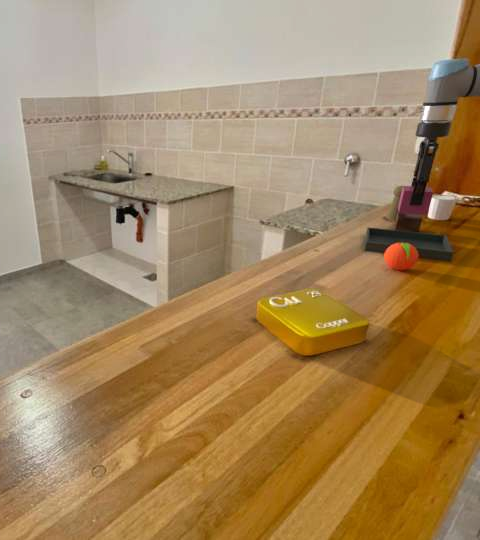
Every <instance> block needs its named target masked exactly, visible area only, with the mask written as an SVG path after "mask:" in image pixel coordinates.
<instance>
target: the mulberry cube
mask: <svg viewBox="0 0 480 540" xmlns="http://www.w3.org/2000/svg"><path fill="white" fill-rule="evenodd" d="M402 186H403V188H402V192H401V196H400V200H399V205H398V212H399V213H403V214H416V215H421V216H428V213H429V207H430V203H431V199H432V196H434V190H433V188H432V187H431V186H426V189H425V192H424V196H423V200H422V204H421V205H410V201H411V197H412V193H413V189H414V186H411V185H402Z"/></svg>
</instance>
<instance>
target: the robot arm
mask: <svg viewBox="0 0 480 540" xmlns="http://www.w3.org/2000/svg"><path fill="white" fill-rule="evenodd" d="M473 97H475V98H476V97H480V63H478V64H475V65H470V63H469V58H453V59H442V60H438V61H436V62H435V63H434V64H433V65H432V67H431V71H430V73H429V77H428V78H427V85H426V90H425V95H424V99H423V103H422V109H419V110H418V114H420V115H419V121H420V122H419V123H417V126H416V130H415V136H416V137H418V138H424V139H423V140H422V141H421V142H420V143H419V146H418V147H419V149H418V154H417V160H416V163H415V167H414V170H413V177H412V182H411V184H410V186H414V189H413V193H412V197H411V201H410V205H421V204H422V200H423V196H424V192H425V189H426V187H427V185H428V183H429V182H430V177H431V173H432V169H433V165H434V160H435V158H436V154H437V150H438V149H439V143H438V141H437V140H438V139H439V138H445V137H448V136H449V135H450V131H451V127H452V122H451V121H453V120H454V117H455V114H456V111H457V107H458V102H459V99H460V98H473Z"/></svg>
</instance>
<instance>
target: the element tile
mask: <svg viewBox="0 0 480 540" xmlns="http://www.w3.org/2000/svg"><path fill="white" fill-rule="evenodd" d="M255 318H256V320H257V322H258V323H260V325H262V326H263V327H264V328H265V329H266V330H268V331H269V332H270V333H271V334H272V335H274V336H275V337H276V338H277V339H278V340H280V341H281V342H282V343H283V344H285V345H286V346H287V347H288V348H290V349H291V350H292V351H293V352H294V353H296V354H298V355H300V356H304V357H310V356H311V357H312V356H317V355H320V354H324V353H327V352H332V351H335V350H338V349H344V348H346V347H350V346H351V347H352V346H354V345H359V344H362V343H364V342H365V341H366V338H367V335H368V331H369V327H370V320H369V318H368V317H367V316H365V315H363V314H361V313H360V312H358V311H356V310H355V309H353V308H352V307H349V306H348V305H346V304H345V303H342V302H341V301H339V300H337V299H335V298H334V297H332V296H330V294H329V295H328V294H327V293H325V292H324V291H321V290H319V289H317V288H305V289H300V290H295V291H290V292H287V293H280V294H276V295H272V296H267V297H263V298H260V299H258V301H257V306H256V316H255Z"/></svg>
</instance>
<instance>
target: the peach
mask: <svg viewBox="0 0 480 540" xmlns="http://www.w3.org/2000/svg"><path fill="white" fill-rule="evenodd" d="M383 255H384V256H383V258H384V262H385V264H386V265H387V266H388V267H389V268H391V269H393V270H395V271H405V270H409V269H411V268H413V267H414V266H415V265H416V264H417V262H418V260H419V257H418V256H419V255H418V251H417V250H416V248H415V247H414V246H412V245H411V244H408V243H405V242H404V243H403V242H399V243H395V244H393V245H391V246H390V247H388V249H387V250H386V252H385V253H383Z"/></svg>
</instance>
